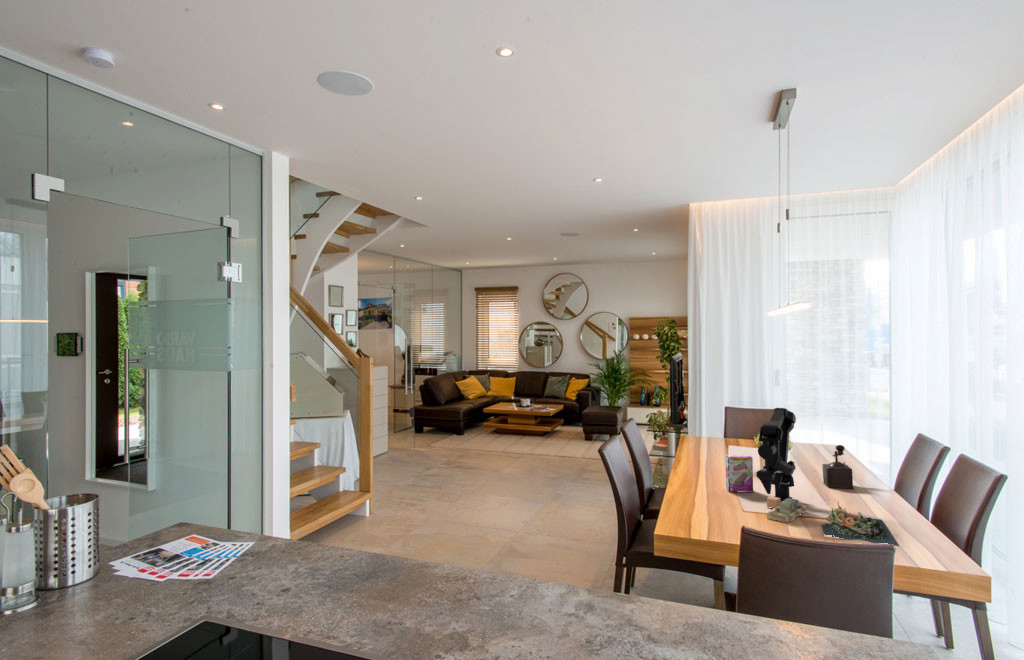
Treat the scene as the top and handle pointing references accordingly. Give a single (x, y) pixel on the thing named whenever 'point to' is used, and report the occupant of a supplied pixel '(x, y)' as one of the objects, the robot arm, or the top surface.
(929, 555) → the top surface
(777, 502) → the terracotta block
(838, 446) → the manual coffee grinder
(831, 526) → the plated dish
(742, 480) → the candy bar box
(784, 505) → the block frame
